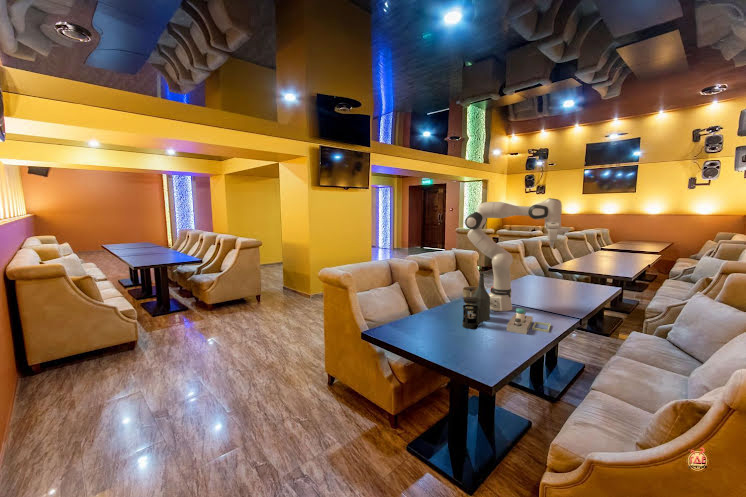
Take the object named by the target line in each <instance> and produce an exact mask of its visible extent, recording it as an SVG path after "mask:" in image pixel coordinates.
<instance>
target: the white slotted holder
mask: <svg viewBox="0 0 746 497" xmlns="http://www.w3.org/2000/svg"><path fill="white" fill-rule="evenodd" d="M513 314H514V315H513V316H512V317H511V318H510V319H509V321H508V323H507V324H506V332H511V333H516V334H522V335H527V334H528V333H529V330H530V329H531V328H532V326H533V325H532V324H534V320H533V318H534V317H533V316H531V315H526V314H525V323H523V322H520V326H517V325H515V323H516V321H515V319H516V313H513Z"/></svg>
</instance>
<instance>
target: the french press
mask: <svg viewBox="0 0 746 497" xmlns="http://www.w3.org/2000/svg"><path fill="white" fill-rule="evenodd" d="M467 289H468V290H470V292H472V290H474V288H467ZM462 299H463V303H464V305H462V309H463V311H462V312H463V315H462V316H463V317H462V327H463V328H464V329H466V330H468V329H469V330H476V329H478V328H479V325H481V324H482V323H481V309H479V307H478V306H476V305H471V304H477V303H478V300H479V299H478V298H476V297H471V295H470V297H464V296H463V297H462ZM465 303H467V305H466V304H465ZM467 307H470V309H468V308H467ZM471 307H473V309H471ZM478 310H479V323H478ZM468 311H470V313H469V312H468ZM471 311H473V314H472V313H471Z"/></svg>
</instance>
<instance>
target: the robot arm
mask: <svg viewBox="0 0 746 497" xmlns="http://www.w3.org/2000/svg"><path fill="white" fill-rule="evenodd" d="M562 207H563V206H562V201H561V200H560V199H556V198H550V197H549V198H547V199H545V200H543V201H541V202H538V203H536V204H533V205H531V206H530V205H529V206H527V205H523V206H522V205H521V206H520V205H514V204H511V203H507V202H502V201H485V202H482V203H480V204H479V206H478V210H477V211H475V212H472V213H470V214H468V216H466V218H465V220H464V224H465V226H466V227H467V228H468V229H469V230H468V232H467V235H466V236H467V238H468V240H469V241H470V243H471V244H473V246H474V247H475V248H477V249H478V250H479V252H481V253H482V254H483V255H485V256H486V257H487V258H489V259H491V265H492V273H493V274H492V275H493V285H492V286H491V287H490V289H489V293H488V294H489V296H490V311H495V312H507V311H512V310H514V309H513V305H512V288H511V287H512V285H511V284H512V282H511V281H512V276H511V271H510V270H511V269H510V267H511V265H512V264H513V260H514V257H513V255H512V253H511V252H509V251H508V250H506V249H505V248H503V247H502V246H500V245H499V244H498V243H497V242H495V241H494V240H493V239H492V238H491V237H489V236H488V235H487V234H486V233H485V232H484V231H483V229H484V228H485V226H486V225H487V221H488V219H504V218H509V217H513V216H515V217H516V216H521V217H522V216H524V217H530V218H531V219H533V220H544V228H546V231H547V239H548V240H549V247H550V248H551V249H554V247H555V242H556V241H557V238H558V233H559V229H561V228H562V217H561V216H562V212H563V208H562ZM550 248H549V249H550Z"/></svg>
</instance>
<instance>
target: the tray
mask: <svg viewBox="0 0 746 497" xmlns="http://www.w3.org/2000/svg"><path fill="white" fill-rule="evenodd" d="M536 325H541V326H548V327H547V329H545V328H538V327H536ZM551 326H552V325H551V323H549V322H540V321H534V322H533V325H532V326H531V330H532V331H537V332H538V331H539V332H542V333H543V332H544V333H549V332H550V328H551Z"/></svg>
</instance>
